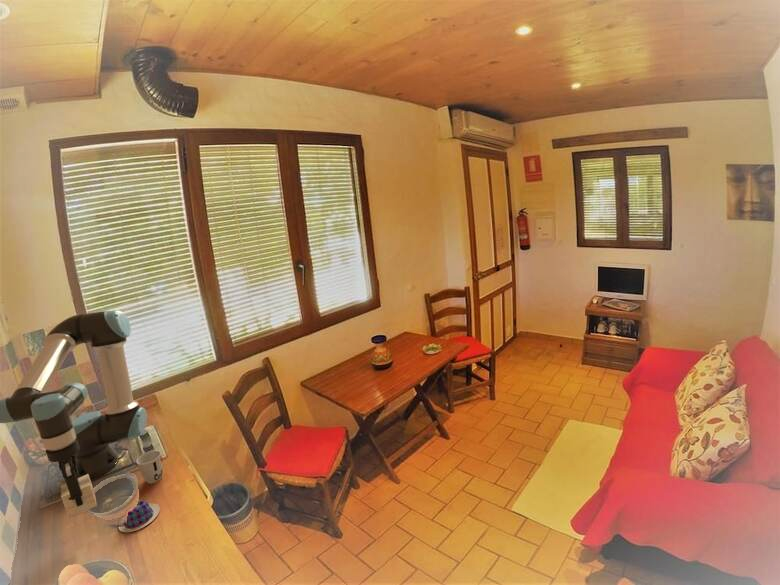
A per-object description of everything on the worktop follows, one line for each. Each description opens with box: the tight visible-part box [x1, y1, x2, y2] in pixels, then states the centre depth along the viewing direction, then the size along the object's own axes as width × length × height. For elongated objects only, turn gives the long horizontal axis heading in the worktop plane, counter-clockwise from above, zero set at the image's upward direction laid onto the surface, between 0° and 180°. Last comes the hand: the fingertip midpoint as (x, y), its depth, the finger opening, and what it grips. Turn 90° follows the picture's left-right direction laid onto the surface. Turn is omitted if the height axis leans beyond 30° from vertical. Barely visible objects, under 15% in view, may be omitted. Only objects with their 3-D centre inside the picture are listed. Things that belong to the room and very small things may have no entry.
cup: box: [136, 449, 164, 484], centre depth 146 cm, size 8×8×10 cm
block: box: [60, 474, 98, 520], centre depth 119 cm, size 7×7×8 cm
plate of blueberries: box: [117, 500, 160, 533], centre depth 128 cm, size 12×12×5 cm
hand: (82, 505), depth 120 cm, fingers closed on block, 7 cm apart
